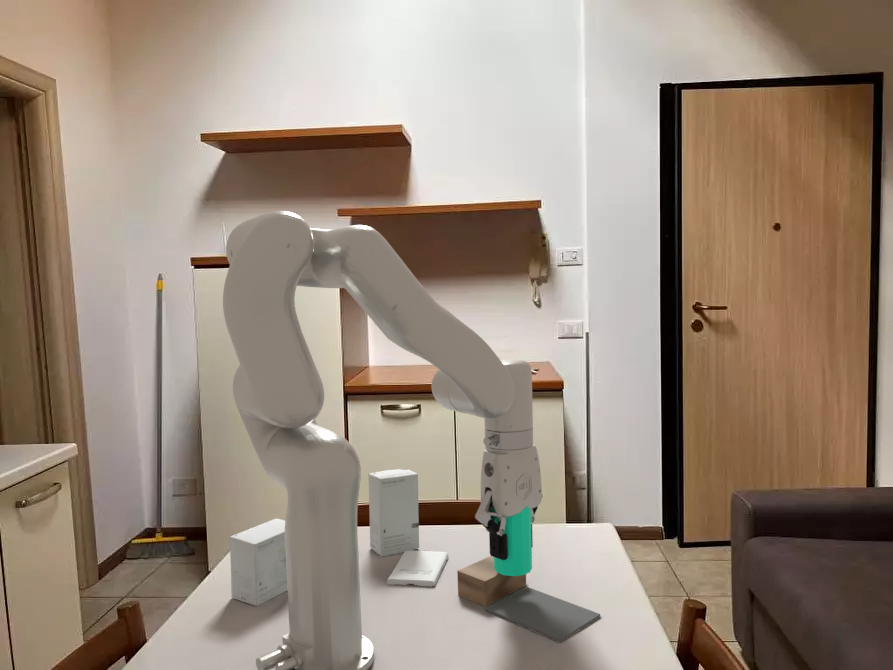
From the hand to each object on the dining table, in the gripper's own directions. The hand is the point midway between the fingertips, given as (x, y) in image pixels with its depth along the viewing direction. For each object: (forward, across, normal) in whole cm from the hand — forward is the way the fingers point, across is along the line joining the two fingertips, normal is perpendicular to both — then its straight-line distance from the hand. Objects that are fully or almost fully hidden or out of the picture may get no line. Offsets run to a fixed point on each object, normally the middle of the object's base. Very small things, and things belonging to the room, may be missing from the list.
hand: (511, 550), depth 108 cm
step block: (+8, 0, +4) cm, 9 cm away
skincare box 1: (+8, -25, +32) cm, 42 cm away
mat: (+8, -1, -6) cm, 10 cm away
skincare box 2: (+8, +1, +30) cm, 32 cm away
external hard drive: (+9, -2, +20) cm, 21 cm away
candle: (+3, 0, 0) cm, 3 cm away
